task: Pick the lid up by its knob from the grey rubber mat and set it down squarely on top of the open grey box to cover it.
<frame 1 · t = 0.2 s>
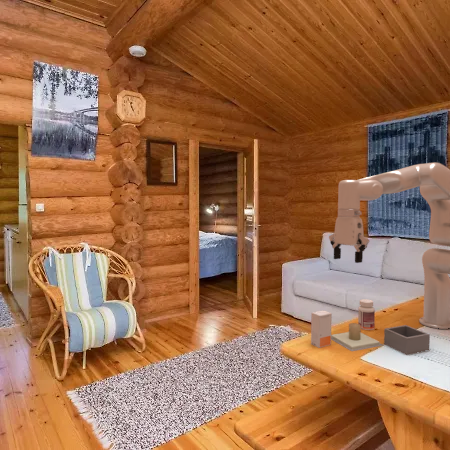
hand: (347, 260, 132), 30 cm above the table, tool pointing down, fingers open, 9 cm apart
lid: (354, 340, 132), resting on mat
skincare box: (321, 345, 130), on the table
mat: (354, 342, 132), on the table
pill bottle: (366, 328, 146), on the table
open grey box: (406, 348, 126), on the table
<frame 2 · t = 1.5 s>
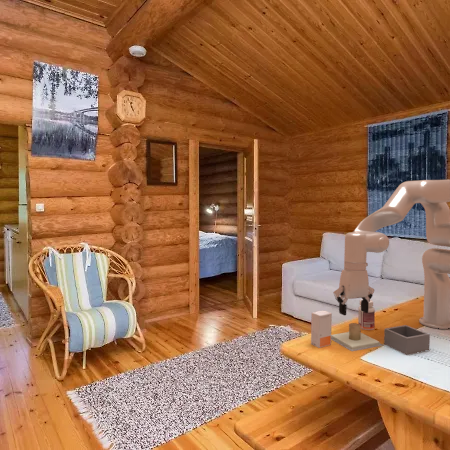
hand: (353, 313, 131), 11 cm above the table, tool pointing down, fingers open, 9 cm apart
nothing on the table moved.
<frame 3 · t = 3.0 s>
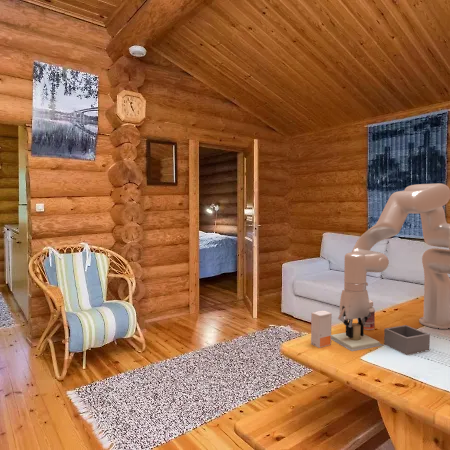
hand: (354, 335, 132), 3 cm above the table, tool pointing down, fingers closed on lid, 4 cm apart
lid: (354, 340, 132), resting on mat, touching gripper
everything else where it was.
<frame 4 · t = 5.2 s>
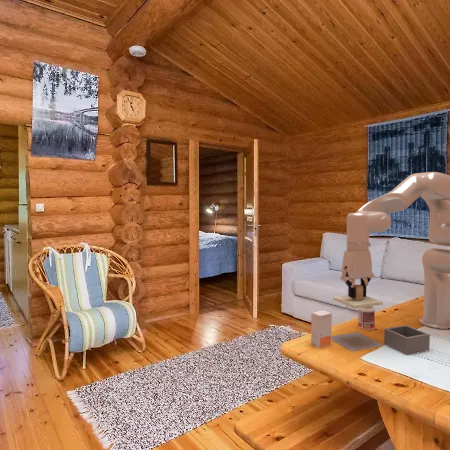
hand: (357, 296, 131), 17 cm above the table, tool pointing down, fingers closed on lid, 4 cm apart
lid: (357, 302, 131), point 15 cm above the table, touching gripper
everything else where it was.
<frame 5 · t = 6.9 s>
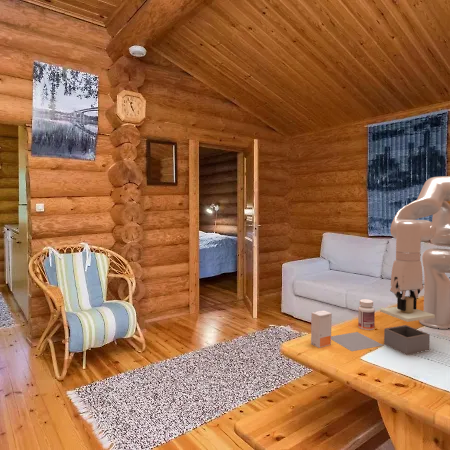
hand: (406, 308, 125), 14 cm above the table, tool pointing down, fingers closed on lid, 4 cm apart
lid: (406, 314, 125), point 12 cm above the table, touching gripper
everything else where it was.
when the fingers open (10 cm above the table, at t = 7.9 s): lid drops 1 cm, resting on open grey box.
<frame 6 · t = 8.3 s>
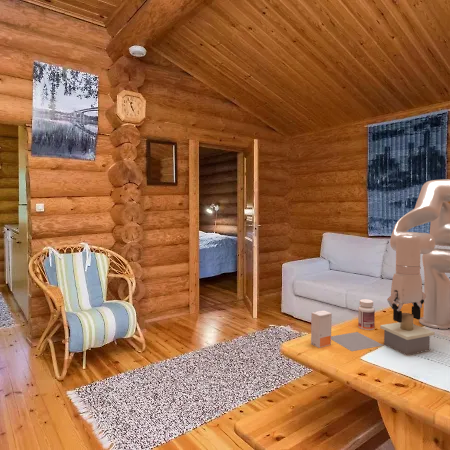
hand: (406, 319, 125), 10 cm above the table, tool pointing down, fingers open, 7 cm apart
lid: (406, 331, 126), point 6 cm above the table, touching open grey box
everything else where it was.
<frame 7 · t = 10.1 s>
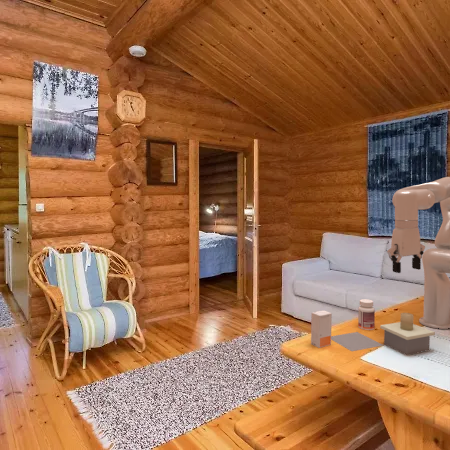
hand: (406, 270, 133), 26 cm above the table, tool pointing down, fingers open, 9 cm apart
nothing on the table moved.
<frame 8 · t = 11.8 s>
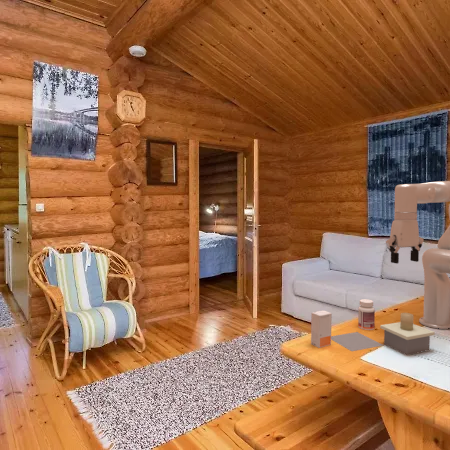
hand: (404, 262, 137), 28 cm above the table, tool pointing down, fingers open, 9 cm apart
nothing on the table moved.
at the end: lid 0.1 cm off-centre on the open grey box, point 6.0 cm above the open grey box's base; lid tilted 0°; the gripper is holding nothing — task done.
